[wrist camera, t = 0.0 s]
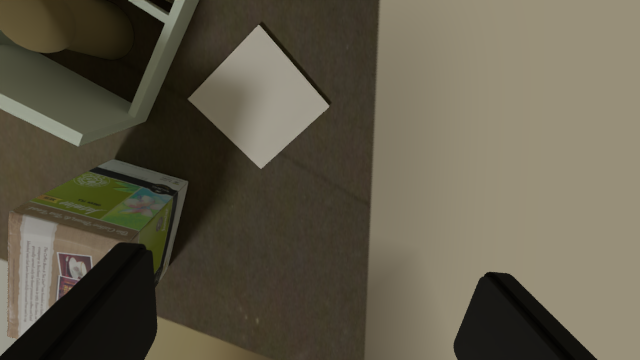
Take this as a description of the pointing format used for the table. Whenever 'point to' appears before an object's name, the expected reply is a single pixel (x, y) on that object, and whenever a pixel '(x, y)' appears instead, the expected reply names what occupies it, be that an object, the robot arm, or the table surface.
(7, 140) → the table surface
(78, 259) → the tea box
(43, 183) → the table surface
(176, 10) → the rack
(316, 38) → the table surface
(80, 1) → the cork
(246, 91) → the mat
